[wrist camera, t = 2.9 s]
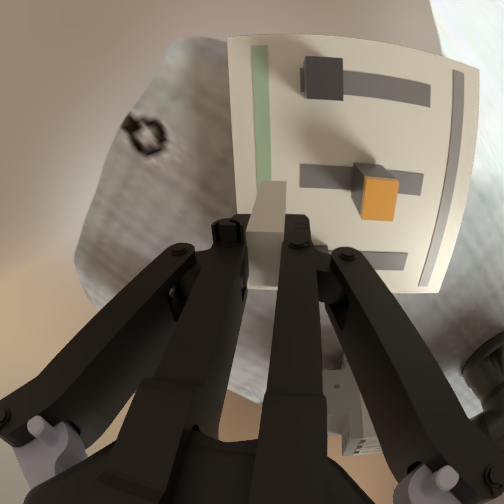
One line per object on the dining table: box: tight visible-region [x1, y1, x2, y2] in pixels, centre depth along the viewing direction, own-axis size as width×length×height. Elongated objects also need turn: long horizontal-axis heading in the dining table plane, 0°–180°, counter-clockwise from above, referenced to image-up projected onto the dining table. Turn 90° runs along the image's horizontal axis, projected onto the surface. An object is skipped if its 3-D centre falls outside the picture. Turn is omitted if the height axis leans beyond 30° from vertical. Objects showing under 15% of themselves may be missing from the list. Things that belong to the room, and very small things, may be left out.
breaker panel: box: [227, 34, 479, 293], centre depth 23 cm, size 22×24×9 cm
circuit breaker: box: [322, 353, 383, 456], centre depth 36 cm, size 8×14×15 cm, turn 97°
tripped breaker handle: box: [351, 162, 399, 222], centre depth 20 cm, size 2×3×5 cm
